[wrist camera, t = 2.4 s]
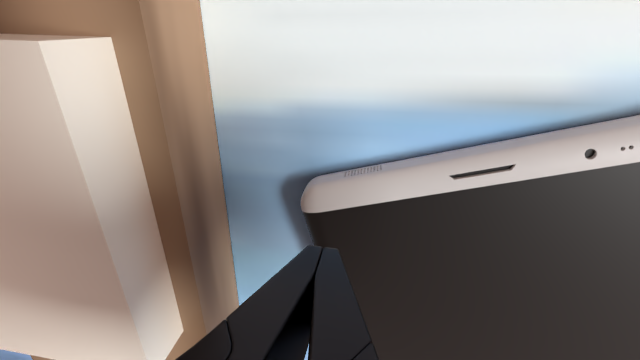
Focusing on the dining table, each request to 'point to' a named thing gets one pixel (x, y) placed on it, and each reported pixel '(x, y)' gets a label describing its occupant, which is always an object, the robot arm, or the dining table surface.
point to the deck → (162, 136)
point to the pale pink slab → (76, 210)
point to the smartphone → (494, 247)
